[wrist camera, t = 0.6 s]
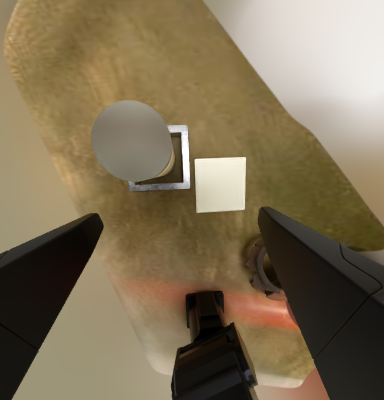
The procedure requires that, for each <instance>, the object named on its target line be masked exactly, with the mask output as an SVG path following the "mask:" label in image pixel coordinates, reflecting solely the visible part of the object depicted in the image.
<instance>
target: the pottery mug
mask: <svg viewBox="0 0 384 400" xmlns="http://www.w3.org/2000/svg"><path fill="white" fill-rule="evenodd" d="M266 252H267V251H266V249H265V246H264V242H263V239H261V240H259V241H258V242H256V243H255V247H253V248H252V250H251V254H250V257H249V259H248V261H247V262H246V263H245V265H246V266H248V267H249V268H251V269H252V270H254V271H255V272H256V274H255V275H254V276H253V282H252V281H251V282H250V283H251V285H252V287H253V288H254V289H256V290H257V291H260V292H262V293H264V294H266V297H267V298H269V299H271V300H276V301H286V300H287V298H286V296H285V293H284V291H283V289H282V286H281V284H280V282H279V279H278V278H277V279H276V280H275V281H274V282H273V283H271V282H270V281H269V280H268V278H267V277H266V275H265V273H264V271H263V258H264V255H265V254H266Z"/></svg>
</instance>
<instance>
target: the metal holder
mask: <svg viewBox="0 0 384 400" xmlns="http://www.w3.org/2000/svg"><path fill="white" fill-rule="evenodd" d="M168 129H169V131H170V135H171V137H181V146H182V166H183V182H167V183H146V184H140V183H139V181H138V182H131V181H128V184H129V192H131V191H151V190H171V189H190V173H189V150H188V127H187V125H174V126H168Z"/></svg>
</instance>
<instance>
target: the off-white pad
mask: <svg viewBox="0 0 384 400" xmlns="http://www.w3.org/2000/svg"><path fill="white" fill-rule="evenodd" d="M194 160H195V187H196V212H197V213H201V212H216V211H232V210H245V171H246V157H237V158H209V159H194Z"/></svg>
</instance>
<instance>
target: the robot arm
mask: <svg viewBox="0 0 384 400" xmlns="http://www.w3.org/2000/svg"><path fill="white" fill-rule="evenodd" d="M258 225H259V229H260V232H261V235H262V239H263V242H264V246H265V249H266V251H267V254H268V256H269V258H270V261H271V263H272V265H273V268H274V270H275V272H276V275H277V277H278V279H279V282H280V284H281V286H282V289H283V291H284V293H285V296H286V298H287V300H288V303H289V305H290V307H291V309H292V311H293V314H294V316H295V319H296V321H297V323H298V326H299V328H300V330H301V333H302V335H303V337H304V340H305V342H306V344H307V347H308V349H309V351H310V354H311V356H312V358H313V359H314V363H315V366H316V368H317V370H318V373H319V375H320V377H321V380H322V382H323V384H324V387H325V389H326V391H327V393H328V396H329V398H330V400H384V265H381V264H379V263H377V262H375V261H373V260H371V259H369V258H367V257H365V256H363V255H361V254H359V253H357V252H355V251H353V250H351V249H349V248H347V247H345V246H343V245H341V244H340V245H339V243H338V242H336V241H334V240H332V239H330V238H328V237H326V236H324V235H322V234H320V233H318V232H316V231H314V230H313V229H311V228H309V227H307V226H305V225H303V224H301V223H299V222H297V221H295V220H293V219H291V218H290V217H288V216H286V215H284V214H282V213H280V212H278V211H276V210H274V209H272V208H270V207H261V208H260V210H259V216H258ZM103 227H104V225H103V222H102V220H101V218H100V216H99V214H97V213H90V214H87V215H85V216H83V217H81V218H78V219H76V220H74V221H72V222H70V223H68V224H65V225H63V226H61V227H59V228H56V229H54V230H52V231H50V232H47V233H45V234H43V235H41V236H39V237H37V238H34V239H32V240H30V241H27V242H25V243H23V244H21V245H19V246H16V247H14V248H12V249H10V250H9V251H5V252H3V253H1V254H0V400H12V398H13V396H14V394H15V392H16V391H17V389H18V387H19V385H20V383H21V382H22V380H23V378H24V376H25V374H26V373H27V371H28V369H29V367H30V365H31V364H32V362H33V360H34V358H35V356H36V355H37V353H38V351H39V350H38V349H40V347H41V345H42V343H43V342H44V340H45V338H46V336H47V334H48V333H49V331H50V329H51V327H52V325H53V324H54V322H55V320H56V318H57V316H58V314H59V313H60V311H61V309H62V307H63V306H64V304H65V302H66V300H67V298H68V297H69V295H70V293H71V291H72V289H73V288H74V286H75V284H76V282H77V280H78V278H79V277H80V275H81V273H82V271H83V269H84V268H85V266H86V264H87V262H88V260H89V259H90V257H91V255H92V253H93V251H94V249H95V247H96V244H97V242H98V240H99V237H100V235H101V233H102V230H103ZM220 294H221V295H220ZM188 297H189V298H188ZM185 298H186V316H187V328H189V329H190V336H191V343H190V344H188V345H186V346H184V347H180V348H178V349H177V355H176V360H175V365H174V370H173V375H172V383H171V390H172V400H258V398H257V395H256V392H255V390H254V386H256V385H258V383H257V379H256V374H255V370H254V366H253V363H252V361H251V358H250V356H249V354H248V351H247V349H246V346H245V344H244V342H243V340H242V338H241V336H240V334H239V332H238V330H237V328H236V326H235V324H234V322H232V323H230V325H228V326H227V324H226V320H225V317H224V295H223V292H222V291H216V292H206V293H197V294H188V295H186V297H185Z"/></svg>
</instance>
